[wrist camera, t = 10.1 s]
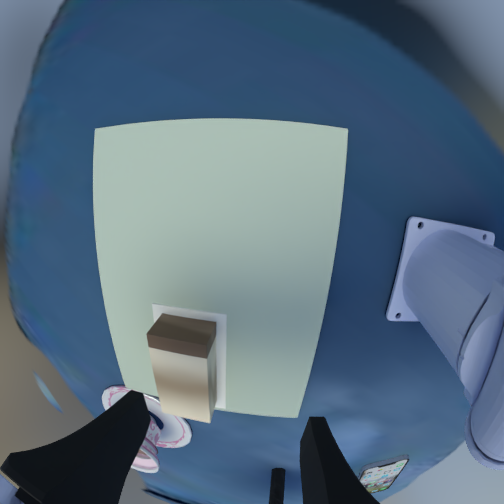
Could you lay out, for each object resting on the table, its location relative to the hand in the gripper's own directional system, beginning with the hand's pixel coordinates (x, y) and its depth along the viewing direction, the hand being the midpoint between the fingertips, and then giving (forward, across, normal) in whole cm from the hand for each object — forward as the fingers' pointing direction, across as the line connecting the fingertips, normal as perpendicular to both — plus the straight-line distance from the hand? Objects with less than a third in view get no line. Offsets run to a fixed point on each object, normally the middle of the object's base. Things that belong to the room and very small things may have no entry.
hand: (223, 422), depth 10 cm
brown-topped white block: (+10, +4, +6) cm, 12 cm away
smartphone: (+11, -22, +32) cm, 40 cm away
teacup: (+11, +12, +18) cm, 24 cm away
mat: (+10, +4, -1) cm, 11 cm away
